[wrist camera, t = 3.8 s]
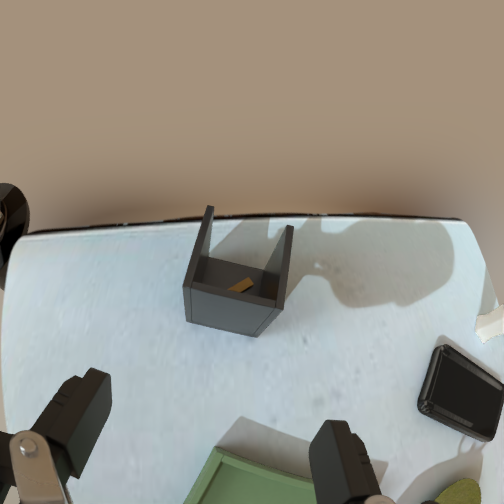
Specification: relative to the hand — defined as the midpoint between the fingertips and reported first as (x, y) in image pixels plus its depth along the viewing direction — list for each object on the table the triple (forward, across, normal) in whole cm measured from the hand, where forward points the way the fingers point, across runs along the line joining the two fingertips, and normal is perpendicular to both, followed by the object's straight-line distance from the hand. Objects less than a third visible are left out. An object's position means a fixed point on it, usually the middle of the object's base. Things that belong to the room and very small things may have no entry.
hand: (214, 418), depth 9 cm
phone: (+11, -28, +8) cm, 31 cm away
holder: (+16, 0, +2) cm, 16 cm away
